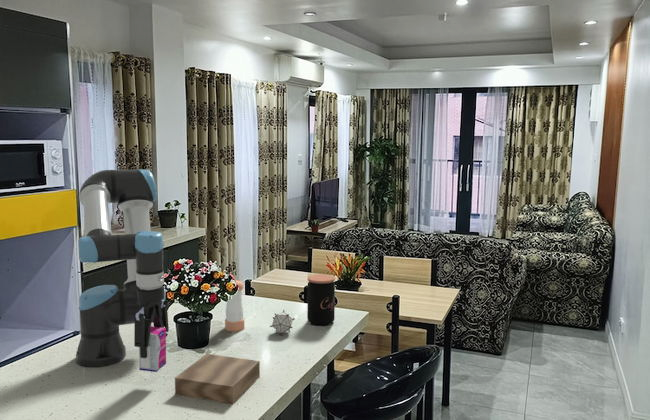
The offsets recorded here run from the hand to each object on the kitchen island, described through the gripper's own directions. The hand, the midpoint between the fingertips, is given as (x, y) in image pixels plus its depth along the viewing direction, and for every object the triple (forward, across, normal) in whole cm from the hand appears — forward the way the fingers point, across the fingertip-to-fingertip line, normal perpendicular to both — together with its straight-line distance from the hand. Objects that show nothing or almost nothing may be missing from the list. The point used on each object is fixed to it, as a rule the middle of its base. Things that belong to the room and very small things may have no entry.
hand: (153, 362), depth 161 cm
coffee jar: (+8, +68, -30) cm, 74 cm away
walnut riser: (+7, +6, -18) cm, 20 cm away
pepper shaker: (+8, +50, -1) cm, 51 cm away
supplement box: (+2, 0, 0) cm, 2 cm away
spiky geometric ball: (+8, +52, -20) cm, 56 cm away
